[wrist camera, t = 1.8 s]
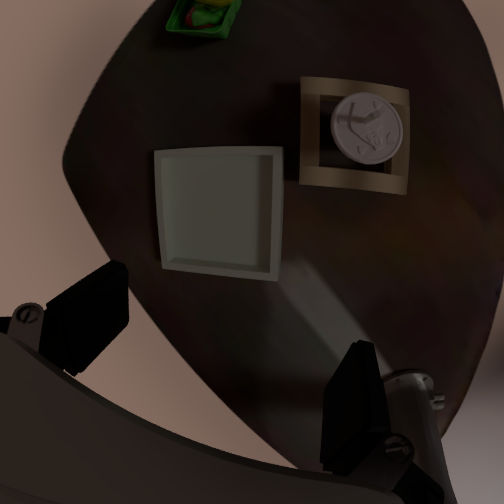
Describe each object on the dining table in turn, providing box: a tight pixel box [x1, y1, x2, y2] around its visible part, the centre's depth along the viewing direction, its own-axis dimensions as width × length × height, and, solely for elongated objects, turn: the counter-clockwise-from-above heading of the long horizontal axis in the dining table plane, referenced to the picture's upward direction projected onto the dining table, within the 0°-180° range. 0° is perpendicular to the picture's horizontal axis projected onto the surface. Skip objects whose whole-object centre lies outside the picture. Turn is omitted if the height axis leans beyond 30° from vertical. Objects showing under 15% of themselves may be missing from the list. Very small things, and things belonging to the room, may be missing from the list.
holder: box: [299, 77, 410, 195], centre depth 26 cm, size 12×12×4 cm
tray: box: [154, 146, 285, 281], centre depth 33 cm, size 16×16×2 cm
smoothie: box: [330, 92, 403, 164], centre depth 22 cm, size 6×6×14 cm
